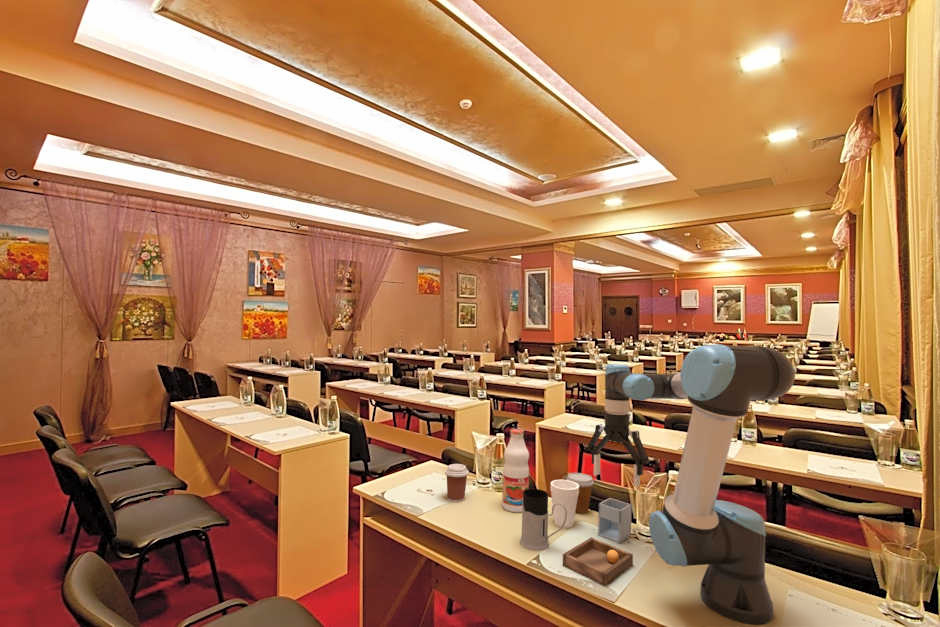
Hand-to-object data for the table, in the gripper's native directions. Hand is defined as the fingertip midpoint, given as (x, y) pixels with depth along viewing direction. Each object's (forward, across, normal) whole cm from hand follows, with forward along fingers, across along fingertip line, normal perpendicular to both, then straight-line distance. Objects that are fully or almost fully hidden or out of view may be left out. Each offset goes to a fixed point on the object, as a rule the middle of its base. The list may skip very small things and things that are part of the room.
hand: (616, 479), depth 140 cm
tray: (+18, -5, +20) cm, 27 cm away
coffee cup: (+17, +55, +18) cm, 61 cm away
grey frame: (+18, +1, 0) cm, 18 cm away
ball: (+18, -8, +16) cm, 25 cm away
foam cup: (+18, +16, +4) cm, 25 cm away
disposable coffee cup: (+18, +19, -9) cm, 27 cm away
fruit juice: (+18, +35, +7) cm, 40 cm away
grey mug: (+18, +12, +22) cm, 31 cm away
